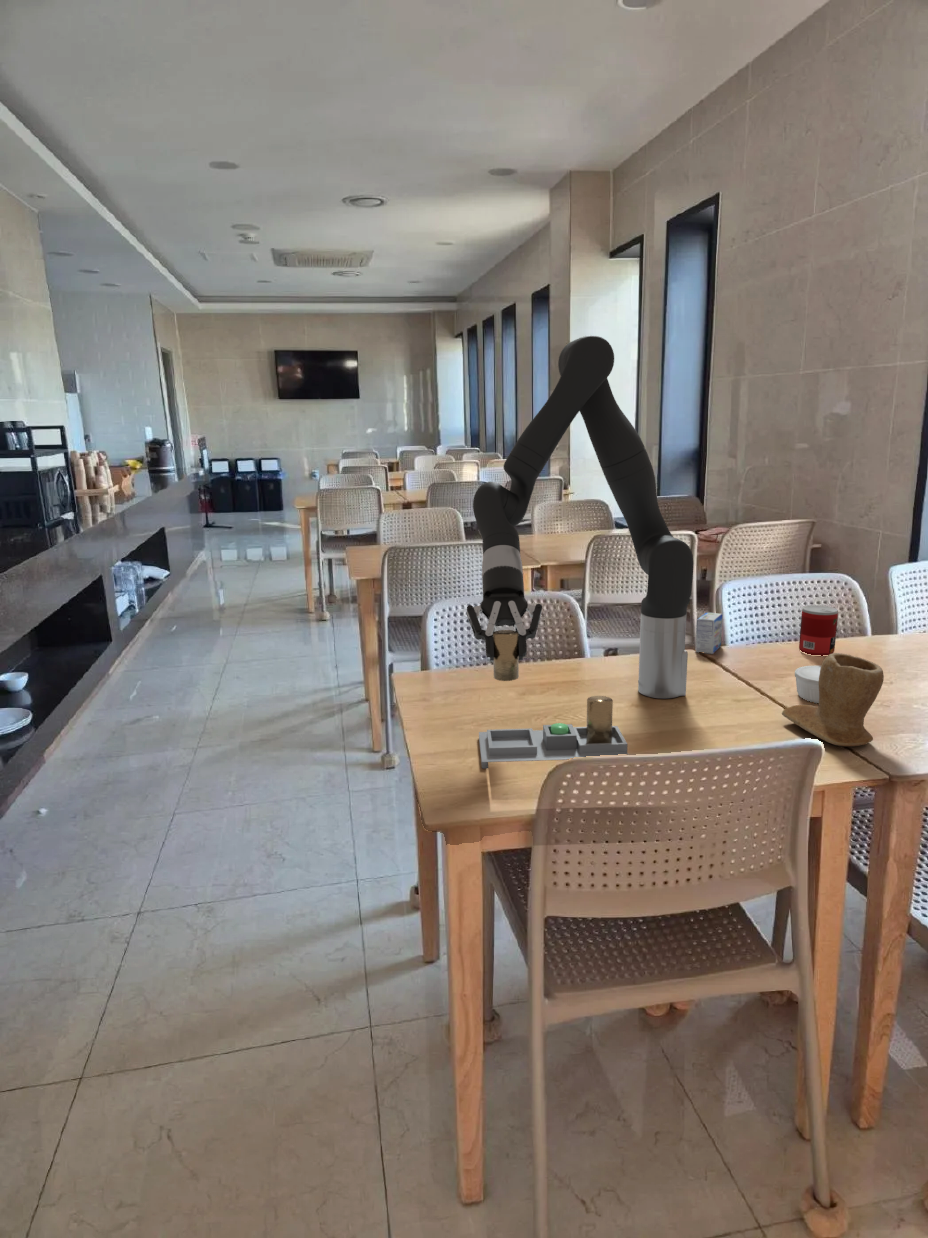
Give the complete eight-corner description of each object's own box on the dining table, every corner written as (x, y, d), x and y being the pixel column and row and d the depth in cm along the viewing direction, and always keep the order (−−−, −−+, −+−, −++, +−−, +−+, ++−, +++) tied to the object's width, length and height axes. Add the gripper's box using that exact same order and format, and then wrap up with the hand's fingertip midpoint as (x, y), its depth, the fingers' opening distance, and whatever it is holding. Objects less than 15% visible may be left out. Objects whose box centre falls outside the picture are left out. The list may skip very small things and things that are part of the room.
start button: (566, 735, 139) (566, 723, 138) (569, 742, 136) (569, 729, 135) (549, 736, 139) (549, 723, 138) (552, 742, 136) (552, 730, 135)
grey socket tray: (614, 734, 144) (614, 714, 143) (630, 764, 132) (630, 743, 131) (478, 738, 144) (478, 718, 143) (481, 768, 131) (481, 747, 130)
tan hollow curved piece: (891, 747, 136) (901, 665, 132) (831, 754, 133) (839, 671, 130) (834, 716, 150) (841, 641, 147) (779, 722, 148) (785, 646, 144)
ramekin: (860, 696, 161) (863, 672, 159) (841, 711, 153) (844, 686, 151) (805, 685, 168) (807, 661, 167) (784, 699, 160) (786, 674, 159)
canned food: (837, 657, 186) (842, 612, 183) (802, 656, 188) (805, 612, 185) (829, 648, 193) (834, 605, 191) (795, 647, 195) (799, 604, 192)
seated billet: (608, 737, 140) (609, 695, 138) (613, 747, 135) (615, 704, 133) (584, 738, 140) (585, 696, 138) (588, 748, 135) (589, 704, 133)
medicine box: (712, 654, 191) (714, 620, 189) (694, 652, 193) (696, 618, 191) (721, 646, 197) (723, 613, 195) (703, 644, 199) (705, 611, 197)
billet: (517, 672, 139) (517, 629, 137) (519, 680, 135) (519, 636, 133) (493, 673, 140) (492, 630, 138) (494, 681, 135) (493, 636, 133)
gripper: (463, 565, 140) (464, 648, 131) (542, 563, 140) (549, 647, 131) (464, 587, 146) (465, 669, 138) (540, 586, 146) (546, 667, 138)
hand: (506, 657), depth 134 cm, fingers closed on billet, 4 cm apart
